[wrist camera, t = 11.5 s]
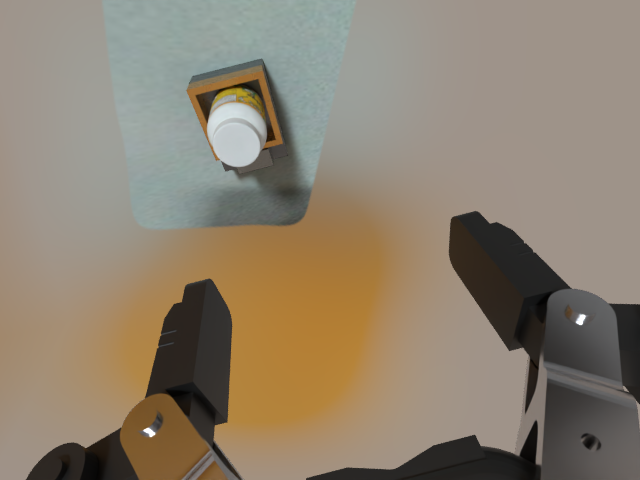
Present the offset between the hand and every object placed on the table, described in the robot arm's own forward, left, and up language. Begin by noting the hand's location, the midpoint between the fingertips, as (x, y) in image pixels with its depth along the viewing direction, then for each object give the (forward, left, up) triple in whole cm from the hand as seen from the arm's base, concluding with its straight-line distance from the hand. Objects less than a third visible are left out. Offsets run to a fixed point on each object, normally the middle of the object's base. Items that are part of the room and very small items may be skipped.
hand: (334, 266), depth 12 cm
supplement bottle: (+3, -5, -30) cm, 31 cm away
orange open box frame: (+5, -5, -33) cm, 34 cm away
